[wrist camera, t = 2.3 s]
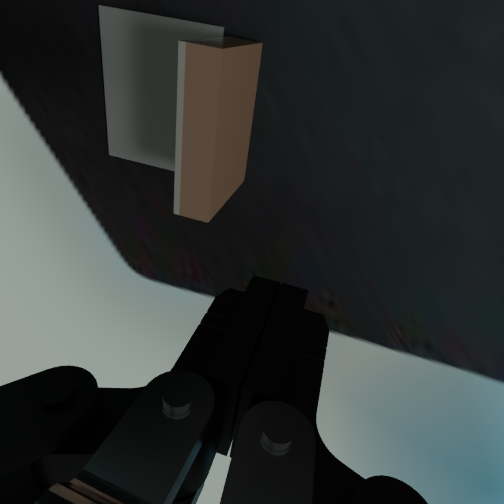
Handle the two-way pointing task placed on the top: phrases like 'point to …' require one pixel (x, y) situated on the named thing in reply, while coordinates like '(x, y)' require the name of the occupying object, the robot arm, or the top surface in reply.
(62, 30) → the top surface
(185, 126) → the tile
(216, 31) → the mat
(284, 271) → the top surface
